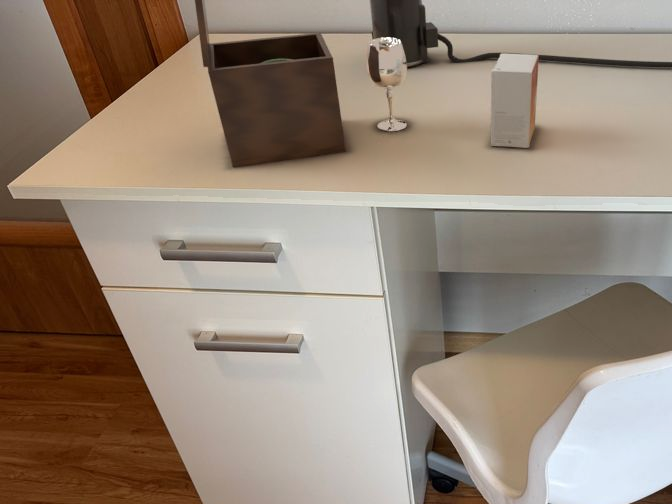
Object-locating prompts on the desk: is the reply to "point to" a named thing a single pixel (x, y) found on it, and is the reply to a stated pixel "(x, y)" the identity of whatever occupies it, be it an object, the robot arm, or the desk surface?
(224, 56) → the chest
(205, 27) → the chest lid
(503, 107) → the small box
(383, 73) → the wineglass
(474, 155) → the desk surface
